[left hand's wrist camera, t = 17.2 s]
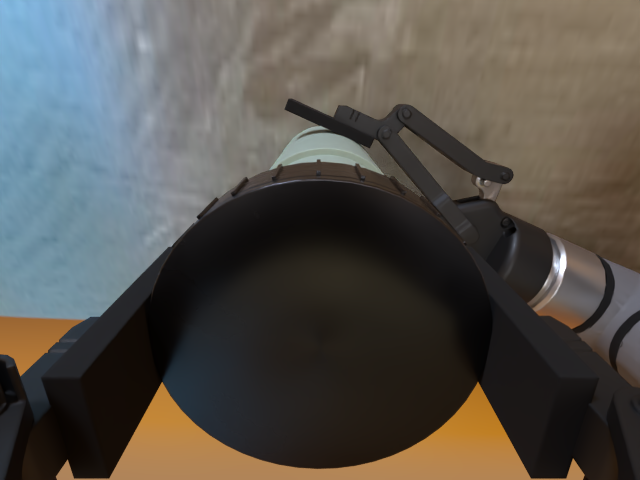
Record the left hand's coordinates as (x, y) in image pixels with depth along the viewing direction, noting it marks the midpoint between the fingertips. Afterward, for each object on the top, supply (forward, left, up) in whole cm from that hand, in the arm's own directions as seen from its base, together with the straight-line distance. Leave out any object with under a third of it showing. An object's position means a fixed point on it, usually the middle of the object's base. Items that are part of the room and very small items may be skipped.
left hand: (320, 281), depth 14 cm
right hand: (-4, 0, -17) cm, 17 cm away
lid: (0, 0, +3) cm, 3 cm away
